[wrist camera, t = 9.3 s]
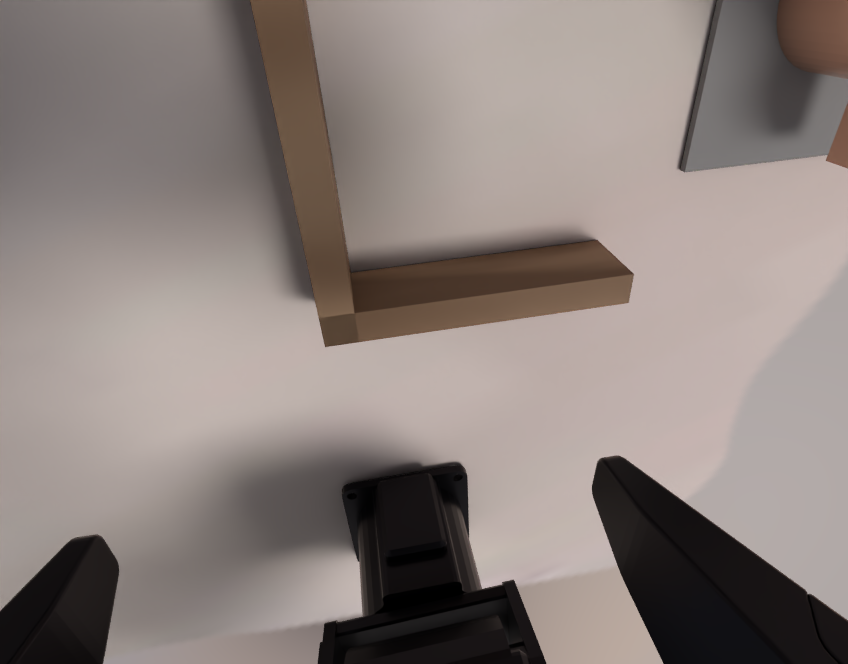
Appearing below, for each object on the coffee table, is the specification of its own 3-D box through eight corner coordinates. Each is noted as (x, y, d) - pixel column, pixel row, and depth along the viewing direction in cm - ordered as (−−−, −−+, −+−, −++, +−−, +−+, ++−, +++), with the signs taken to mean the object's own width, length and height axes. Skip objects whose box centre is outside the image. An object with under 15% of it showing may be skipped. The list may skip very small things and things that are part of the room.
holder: (593, 266, 21) (628, 302, 19) (324, 303, 20) (325, 346, 18) (697, -497, 11) (804, -635, 9) (160, -502, 10) (107, -660, 8)
